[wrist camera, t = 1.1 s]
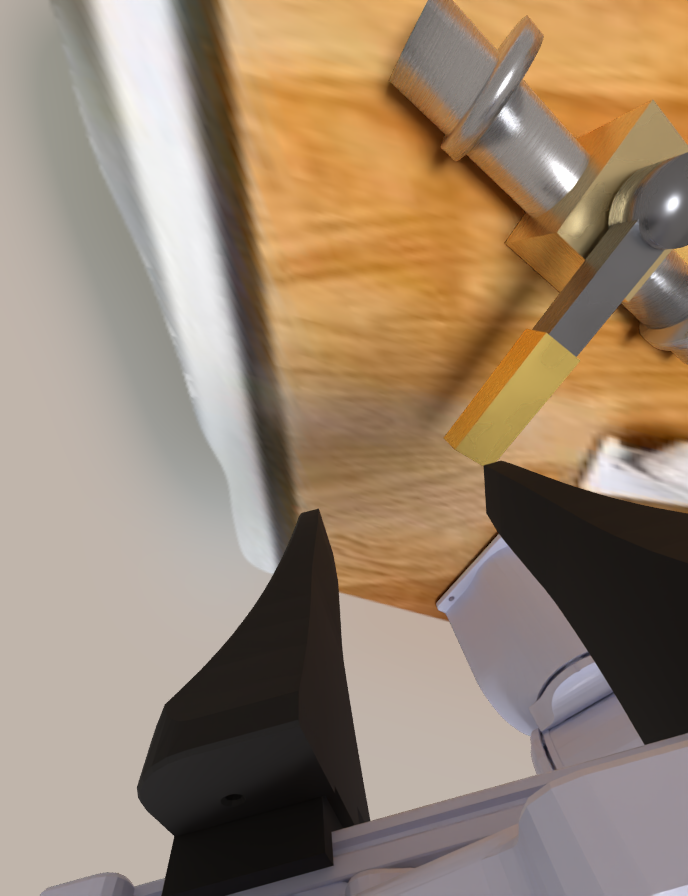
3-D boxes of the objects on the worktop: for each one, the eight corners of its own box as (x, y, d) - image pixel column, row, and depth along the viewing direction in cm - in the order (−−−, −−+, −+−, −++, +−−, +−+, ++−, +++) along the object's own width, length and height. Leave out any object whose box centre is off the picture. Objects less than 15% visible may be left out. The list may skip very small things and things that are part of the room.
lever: (480, 459, 18) (498, 476, 17) (436, 433, 17) (451, 448, 16) (693, 197, 14) (744, 186, 13) (652, 145, 13) (700, 126, 12)
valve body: (653, 375, 22) (727, 394, 18) (368, 121, 15) (392, 68, 12) (720, 303, 21) (814, 307, 17) (438, -15, 14) (491, -128, 10)
